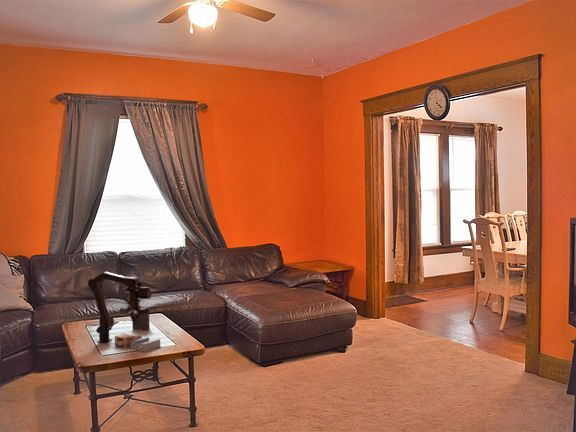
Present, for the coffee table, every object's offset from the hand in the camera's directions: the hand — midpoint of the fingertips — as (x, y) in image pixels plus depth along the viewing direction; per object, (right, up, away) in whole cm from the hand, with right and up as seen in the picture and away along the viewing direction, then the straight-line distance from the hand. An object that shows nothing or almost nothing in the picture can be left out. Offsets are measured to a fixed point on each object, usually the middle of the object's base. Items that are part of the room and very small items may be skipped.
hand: (134, 324), depth 321 cm
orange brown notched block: (-4, -11, -6) cm, 13 cm away
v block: (+9, -11, -10) cm, 18 cm away
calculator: (-5, -10, +32) cm, 34 cm away
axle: (-2, -12, -3) cm, 12 cm away
